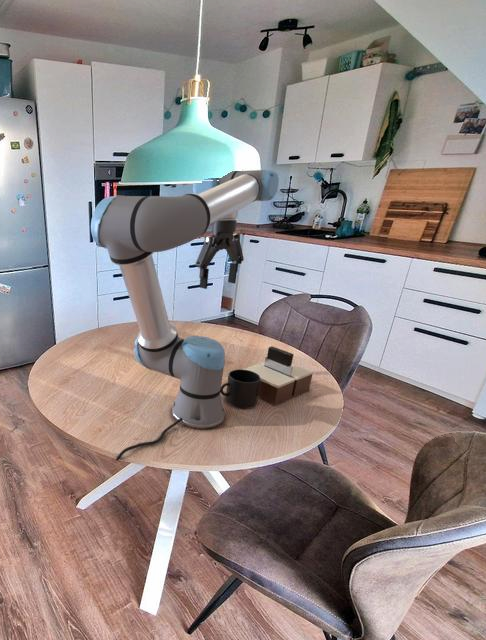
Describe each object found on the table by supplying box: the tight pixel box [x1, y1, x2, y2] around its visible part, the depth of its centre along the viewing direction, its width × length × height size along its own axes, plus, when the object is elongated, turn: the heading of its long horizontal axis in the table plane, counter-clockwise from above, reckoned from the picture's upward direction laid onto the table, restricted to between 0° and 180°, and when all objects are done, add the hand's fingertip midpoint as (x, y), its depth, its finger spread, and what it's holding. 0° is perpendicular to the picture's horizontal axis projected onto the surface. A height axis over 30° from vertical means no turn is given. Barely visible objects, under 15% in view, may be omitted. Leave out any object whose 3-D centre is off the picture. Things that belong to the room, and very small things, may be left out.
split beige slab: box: [242, 361, 314, 406], centre depth 129 cm, size 18×14×7 cm
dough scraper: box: [264, 345, 294, 377], centre depth 127 cm, size 2×10×12 cm, turn 32°
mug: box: [220, 368, 260, 409], centre depth 121 cm, size 9×12×9 cm
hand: (217, 285), depth 132 cm, fingers open, 13 cm apart
